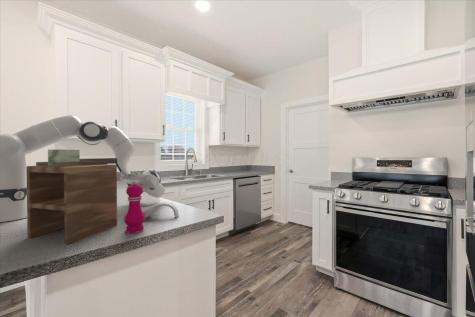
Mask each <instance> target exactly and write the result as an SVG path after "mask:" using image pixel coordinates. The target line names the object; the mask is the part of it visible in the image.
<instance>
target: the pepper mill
mask: <svg viewBox="0 0 475 317" xmlns="http://www.w3.org/2000/svg"><path fill="white" fill-rule="evenodd" d="M125 191H126V192H125V194H126V195H127V201H128V205H129V207H128V210H127V211H126V213H127V214H126V215H125V218H124V223H125V224H126V227H125V232H126V233H129V234H134V233H139V232H142V231H143V230H144V224H143V223H144V222H145V219H146V218H145V217H144V214H143V211H142V210H141V200H142V194H143V193H144V192H143V188H142V186H140V185H138V184H137V181H135V180H134V181H133V182H132V185H130V186H128V185H127V187H126V190H125Z"/></svg>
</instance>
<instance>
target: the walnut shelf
mask: <svg viewBox="0 0 475 317" xmlns="http://www.w3.org/2000/svg"><path fill="white" fill-rule="evenodd" d="M117 170H118V168H117V165H116V164H107V161H86V162H57V163H54V166H48V161H36V162H35V165H26V172H27V217H26V218H27V219H26V224H27V225H26V226H27V230H26V231H27V239H33V238H37V237H38V236H43V235H45V234H50V233H51V232H56V231H59V230H62V229H64V245H72V244H74V243H76V242H77V243H78V242H79V241H81V240H85V239H86V238H87V239H88V238H89V237H92V236H95V235H97V234H100V233H102V232H104V231H105V232H106V231H108V230H109V229H112V228H115V227H117V226H118V195H117V194H118V172H117Z"/></svg>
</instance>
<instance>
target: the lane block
mask: <svg viewBox="0 0 475 317" xmlns="http://www.w3.org/2000/svg"><path fill="white" fill-rule="evenodd" d="M86 161H107V164H112V165H116V164H115V163H117V158H115V157H106V158H105V157H102V158H101V157H98V158H96V157H95V158H80V149H47V162H48V166H54V163H57V162H86Z"/></svg>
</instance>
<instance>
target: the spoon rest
mask: <svg viewBox="0 0 475 317" xmlns="http://www.w3.org/2000/svg"><path fill="white" fill-rule="evenodd" d="M162 206H164V207H169V208H170V209H172V211H173V213H174V218H175V217H177V218H178V216H179V210H178V208H177V206H176V205H174V204H173V203H171V202H166V201H164V202H158V203H156V204H152V205H149V206H142V207H141V206H140V207H141V210H142V211H143V214H144V217H145V219H147V218H149V217H150V216H151V215H153V213H154V212H155V211H157V209H158V208H160V207H162ZM126 214H127V212H126Z"/></svg>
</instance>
